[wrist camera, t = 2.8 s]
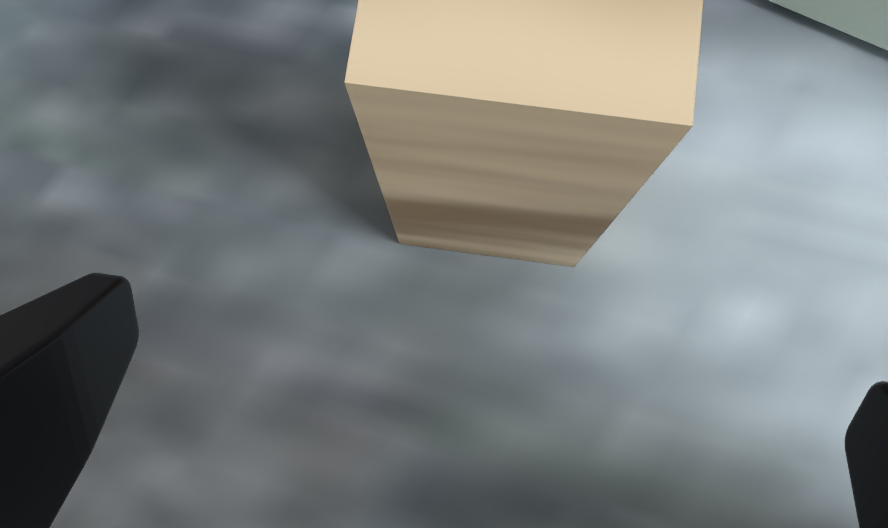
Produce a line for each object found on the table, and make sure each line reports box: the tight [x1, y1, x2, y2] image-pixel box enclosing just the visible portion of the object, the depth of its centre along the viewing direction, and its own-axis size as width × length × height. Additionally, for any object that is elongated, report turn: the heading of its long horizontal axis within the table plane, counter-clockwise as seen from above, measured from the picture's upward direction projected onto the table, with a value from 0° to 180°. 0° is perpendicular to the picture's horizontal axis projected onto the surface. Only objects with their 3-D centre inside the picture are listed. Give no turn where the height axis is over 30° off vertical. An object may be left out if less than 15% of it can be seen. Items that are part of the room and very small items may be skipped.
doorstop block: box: [344, 0, 703, 267], centre depth 17 cm, size 4×5×11 cm
